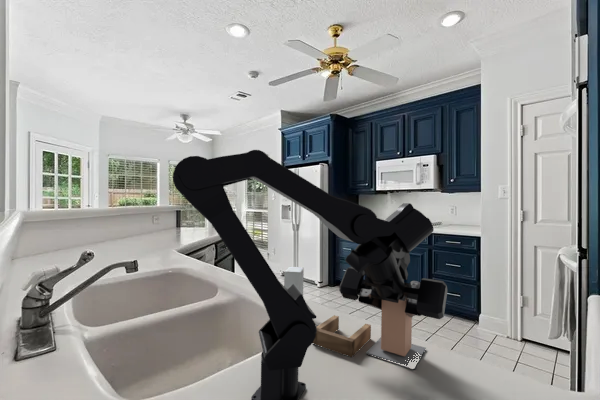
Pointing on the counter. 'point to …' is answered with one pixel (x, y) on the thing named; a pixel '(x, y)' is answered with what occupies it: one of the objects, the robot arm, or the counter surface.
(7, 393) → the counter surface
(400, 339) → the block
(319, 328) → the u-shaped frame
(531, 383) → the counter surface
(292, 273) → the skincare box
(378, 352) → the mat
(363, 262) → the robot arm
